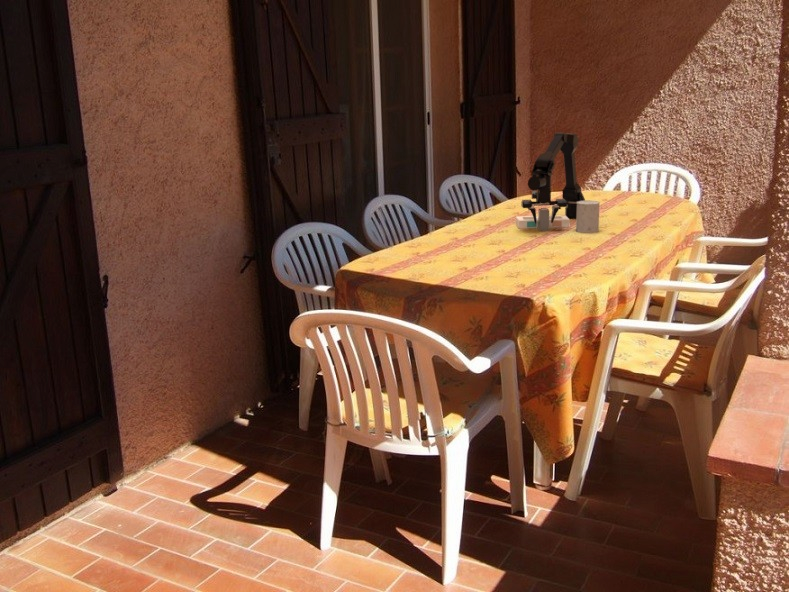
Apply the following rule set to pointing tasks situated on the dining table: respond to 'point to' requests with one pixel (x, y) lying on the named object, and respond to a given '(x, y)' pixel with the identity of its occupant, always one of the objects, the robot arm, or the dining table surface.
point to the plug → (543, 219)
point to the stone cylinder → (587, 216)
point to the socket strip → (529, 221)
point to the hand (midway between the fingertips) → (543, 223)
